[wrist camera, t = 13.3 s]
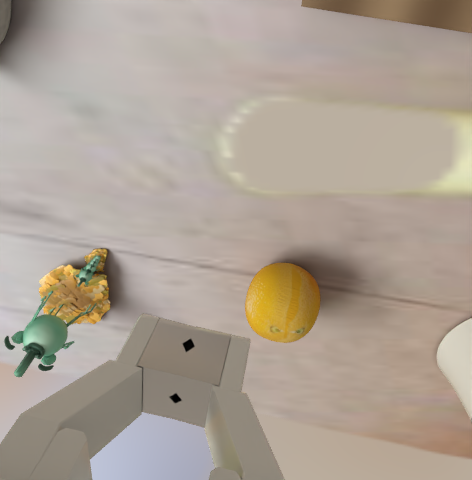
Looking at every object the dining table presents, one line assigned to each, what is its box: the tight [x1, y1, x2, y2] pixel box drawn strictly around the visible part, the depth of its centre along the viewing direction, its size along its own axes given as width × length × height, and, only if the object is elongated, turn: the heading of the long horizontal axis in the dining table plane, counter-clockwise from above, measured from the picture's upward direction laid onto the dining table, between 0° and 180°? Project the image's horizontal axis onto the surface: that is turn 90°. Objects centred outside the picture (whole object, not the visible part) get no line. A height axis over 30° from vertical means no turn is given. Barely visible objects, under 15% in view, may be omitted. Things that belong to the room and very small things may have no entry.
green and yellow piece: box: [5, 249, 111, 377], centre depth 48 cm, size 10×18×15 cm, turn 131°
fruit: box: [245, 263, 320, 343], centre depth 42 cm, size 9×8×8 cm
